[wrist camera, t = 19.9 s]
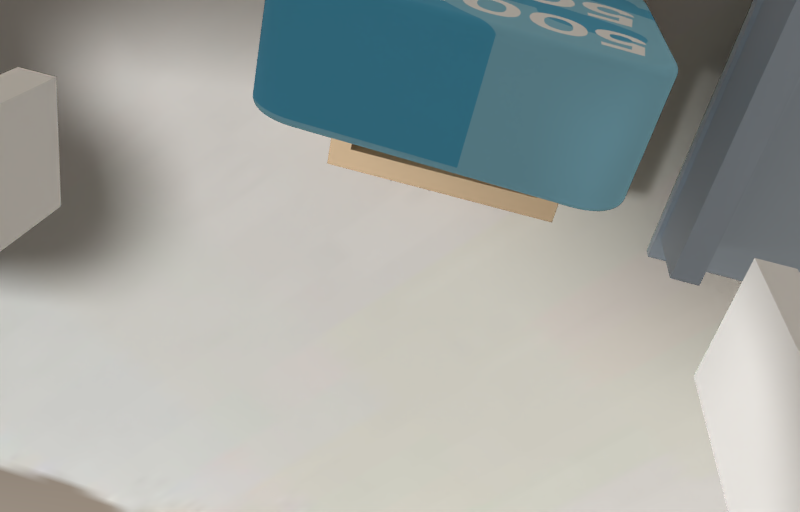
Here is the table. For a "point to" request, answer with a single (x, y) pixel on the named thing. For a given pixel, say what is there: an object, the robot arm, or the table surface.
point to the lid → (742, 160)
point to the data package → (476, 86)
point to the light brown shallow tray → (437, 180)
